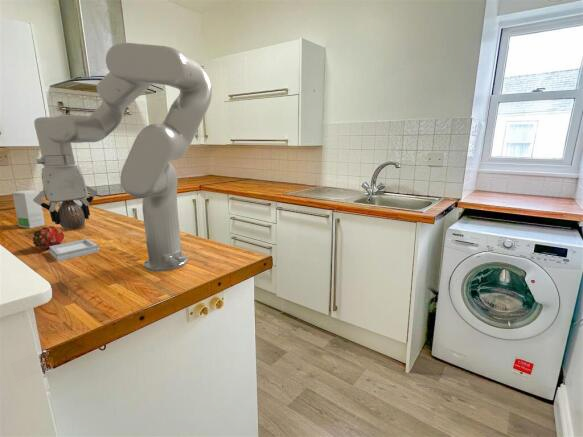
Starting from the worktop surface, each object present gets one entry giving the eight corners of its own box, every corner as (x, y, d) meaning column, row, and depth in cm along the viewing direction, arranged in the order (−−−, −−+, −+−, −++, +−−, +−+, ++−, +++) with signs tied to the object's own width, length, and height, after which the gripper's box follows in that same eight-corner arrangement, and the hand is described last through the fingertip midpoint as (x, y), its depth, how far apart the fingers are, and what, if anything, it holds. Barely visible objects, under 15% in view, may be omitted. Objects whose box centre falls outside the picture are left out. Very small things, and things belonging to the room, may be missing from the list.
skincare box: (18, 226, 142) (10, 192, 138) (34, 223, 148) (27, 189, 144) (30, 228, 139) (23, 193, 136) (46, 224, 145) (39, 190, 142)
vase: (82, 223, 103) (76, 197, 101) (90, 226, 98) (84, 198, 96) (56, 229, 98) (50, 200, 95) (64, 232, 93) (57, 202, 91)
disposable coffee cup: (86, 224, 146) (81, 198, 143) (91, 228, 139) (87, 201, 136) (60, 228, 139) (55, 201, 136) (65, 232, 132) (60, 204, 130)
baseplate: (99, 251, 110) (98, 245, 109) (57, 261, 101) (56, 254, 101) (89, 244, 118) (88, 238, 117) (49, 252, 109) (48, 246, 109)
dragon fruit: (39, 258, 108) (58, 251, 120) (60, 242, 109) (77, 237, 121) (20, 239, 107) (41, 234, 118) (41, 223, 107) (60, 219, 119)
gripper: (23, 164, 84) (39, 229, 89) (96, 159, 97) (107, 216, 101) (19, 164, 90) (34, 225, 94) (88, 159, 102) (99, 213, 106)
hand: (72, 220), depth 97 cm, fingers closed on vase, 7 cm apart
